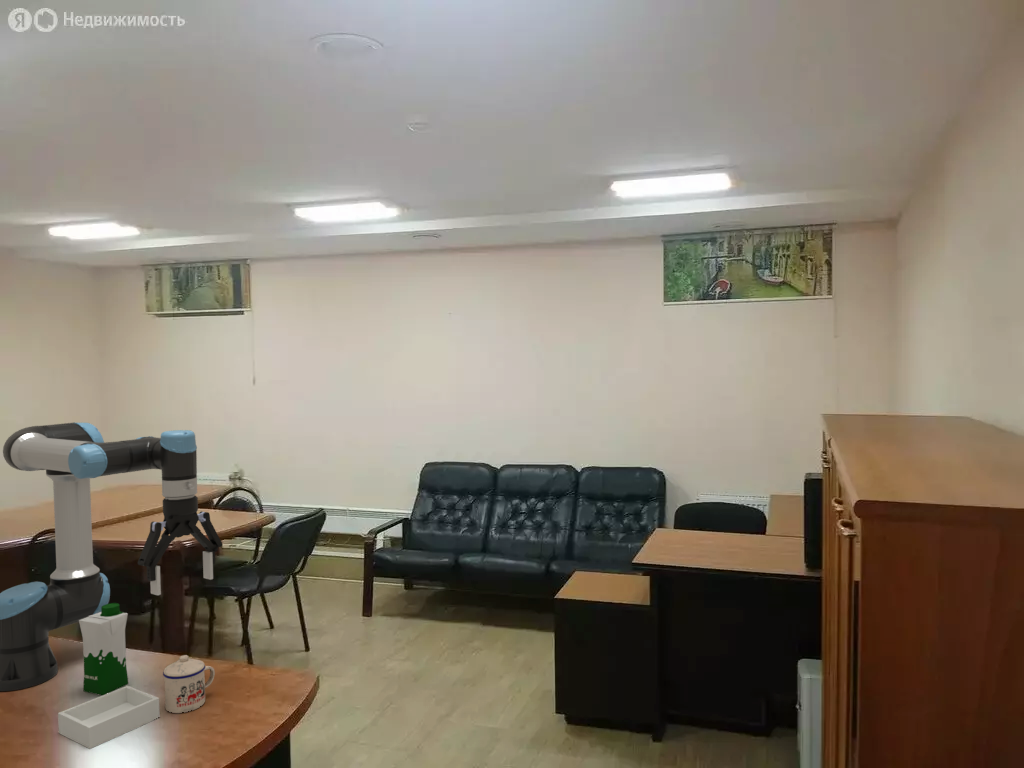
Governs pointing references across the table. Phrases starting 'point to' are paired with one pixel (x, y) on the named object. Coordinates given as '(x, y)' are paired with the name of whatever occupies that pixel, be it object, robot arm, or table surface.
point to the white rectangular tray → (108, 716)
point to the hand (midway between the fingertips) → (182, 586)
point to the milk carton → (104, 650)
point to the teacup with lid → (185, 684)
